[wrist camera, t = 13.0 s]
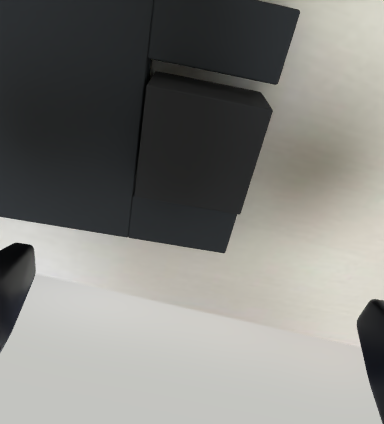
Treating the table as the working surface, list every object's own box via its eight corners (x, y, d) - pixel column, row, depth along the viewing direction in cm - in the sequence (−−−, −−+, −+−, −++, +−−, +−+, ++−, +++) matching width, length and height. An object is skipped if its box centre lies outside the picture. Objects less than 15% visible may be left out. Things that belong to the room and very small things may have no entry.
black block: (234, 185, 18) (240, 215, 16) (143, 169, 18) (134, 197, 15) (261, 92, 16) (273, 109, 13) (155, 70, 15) (146, 84, 13)
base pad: (223, 238, 20) (224, 253, 19) (-54, 191, 19) (-72, 205, 18) (292, 9, 14) (301, 10, 13) (-118, -85, 13) (-154, -94, 11)
